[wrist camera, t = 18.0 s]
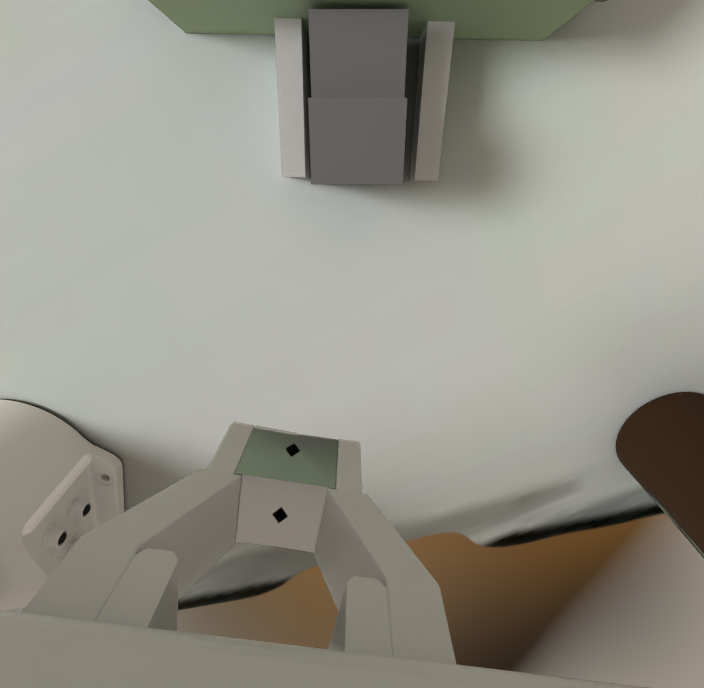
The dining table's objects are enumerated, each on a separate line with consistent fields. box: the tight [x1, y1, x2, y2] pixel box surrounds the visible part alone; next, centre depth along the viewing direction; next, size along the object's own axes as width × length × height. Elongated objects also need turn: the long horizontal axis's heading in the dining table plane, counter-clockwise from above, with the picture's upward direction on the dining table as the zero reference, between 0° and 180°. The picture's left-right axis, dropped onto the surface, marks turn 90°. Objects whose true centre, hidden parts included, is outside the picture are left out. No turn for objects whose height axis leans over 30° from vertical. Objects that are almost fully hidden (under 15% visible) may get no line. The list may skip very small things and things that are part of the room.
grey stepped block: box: [308, 9, 409, 185], centre depth 21 cm, size 8×5×6 cm, turn 0°
